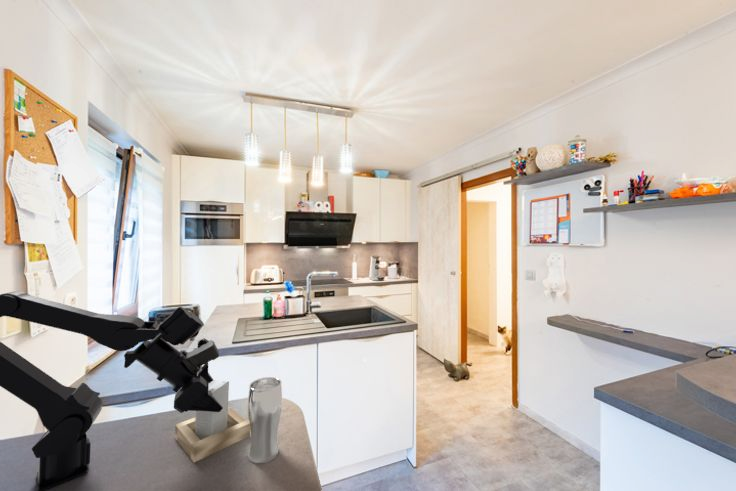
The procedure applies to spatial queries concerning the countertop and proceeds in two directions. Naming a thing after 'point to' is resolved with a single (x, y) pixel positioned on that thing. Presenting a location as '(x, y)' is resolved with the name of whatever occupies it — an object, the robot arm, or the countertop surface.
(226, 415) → the skincare box
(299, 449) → the countertop surface
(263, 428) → the beer glass
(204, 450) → the frame
